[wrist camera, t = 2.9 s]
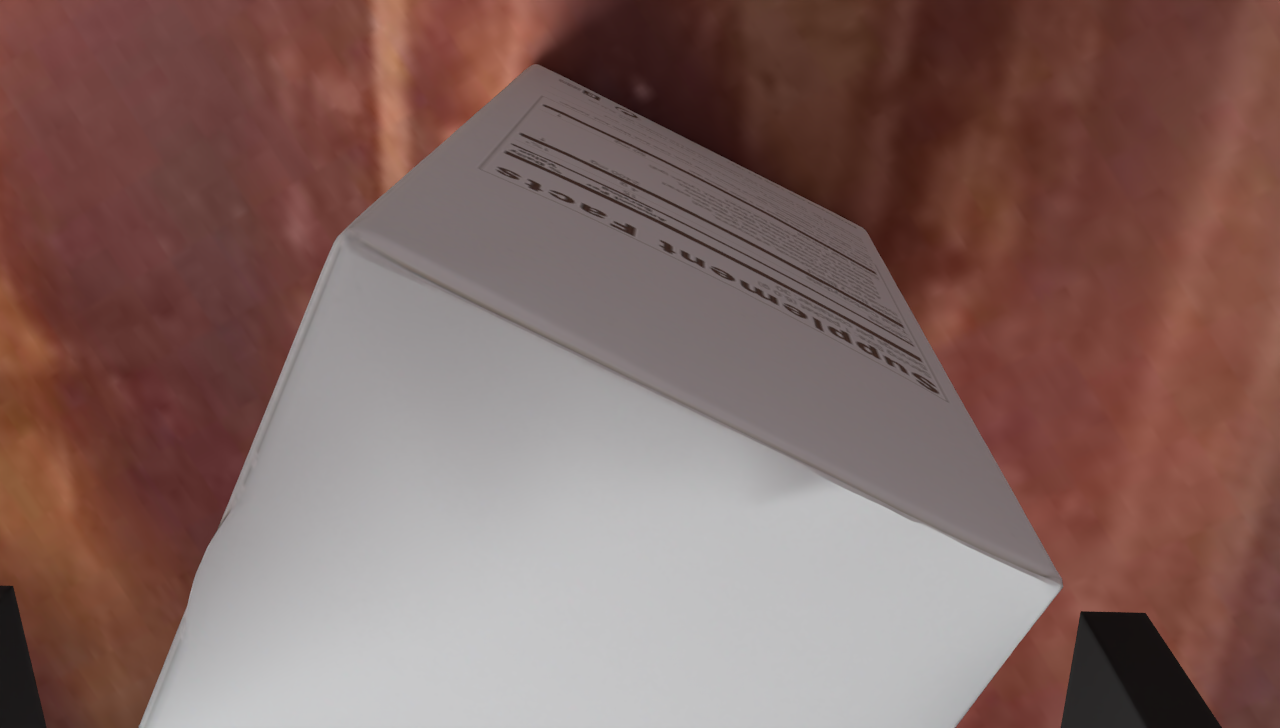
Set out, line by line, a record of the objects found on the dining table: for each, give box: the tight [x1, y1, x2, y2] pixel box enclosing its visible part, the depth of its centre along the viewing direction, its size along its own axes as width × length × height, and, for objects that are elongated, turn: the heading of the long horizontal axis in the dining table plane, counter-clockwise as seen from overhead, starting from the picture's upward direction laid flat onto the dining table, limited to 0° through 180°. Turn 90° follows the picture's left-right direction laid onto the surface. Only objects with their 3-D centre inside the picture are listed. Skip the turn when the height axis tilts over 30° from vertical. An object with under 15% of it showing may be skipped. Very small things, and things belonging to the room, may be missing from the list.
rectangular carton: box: [139, 64, 1063, 728], centre depth 20 cm, size 9×9×15 cm
